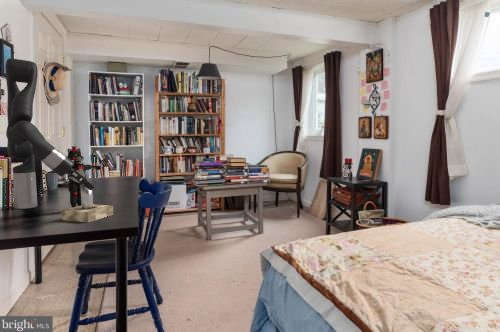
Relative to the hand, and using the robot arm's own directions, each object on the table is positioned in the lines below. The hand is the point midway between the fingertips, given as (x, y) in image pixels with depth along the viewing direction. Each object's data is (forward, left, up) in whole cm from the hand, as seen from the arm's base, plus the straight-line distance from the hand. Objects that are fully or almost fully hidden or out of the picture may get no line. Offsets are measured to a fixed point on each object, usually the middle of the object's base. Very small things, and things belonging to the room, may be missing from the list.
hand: (90, 187), depth 145 cm
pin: (-1, -1, -13) cm, 13 cm away
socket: (-1, -1, -13) cm, 13 cm away
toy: (-15, +7, -13) cm, 21 cm away
